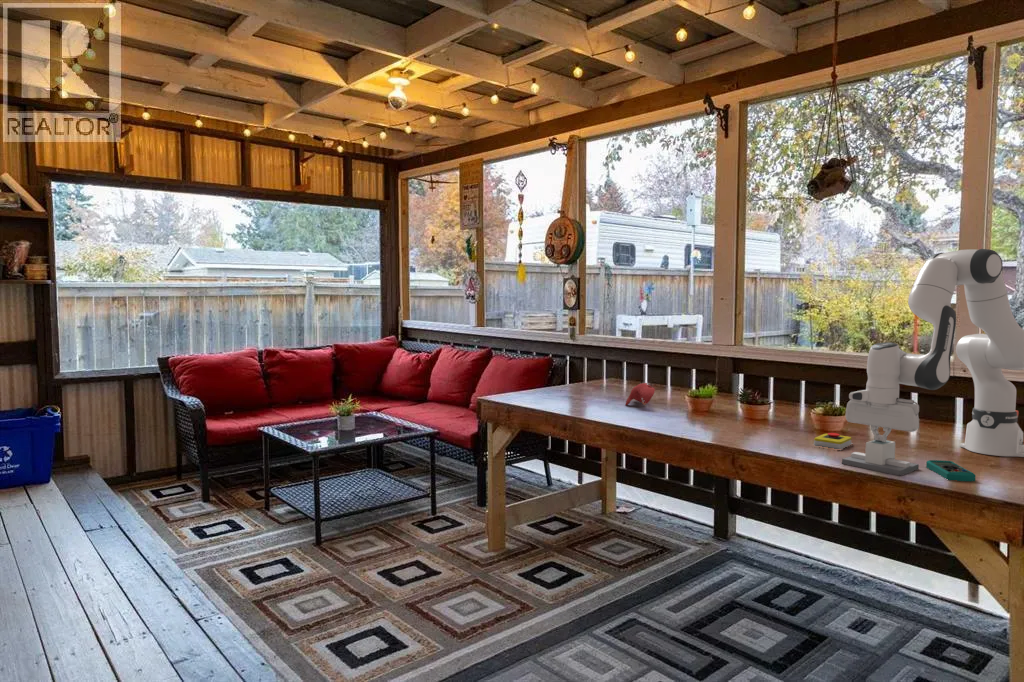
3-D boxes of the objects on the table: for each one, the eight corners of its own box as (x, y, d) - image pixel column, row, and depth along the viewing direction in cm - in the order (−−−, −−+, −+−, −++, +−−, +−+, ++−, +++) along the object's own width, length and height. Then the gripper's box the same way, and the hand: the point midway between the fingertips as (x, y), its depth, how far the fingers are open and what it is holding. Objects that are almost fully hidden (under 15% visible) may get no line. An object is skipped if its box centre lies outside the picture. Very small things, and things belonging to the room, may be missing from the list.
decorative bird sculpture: (641, 420, 298) (664, 396, 297) (626, 406, 297) (649, 382, 296) (630, 409, 326) (651, 387, 325) (616, 396, 325) (637, 374, 325)
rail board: (861, 457, 213) (861, 449, 213) (918, 469, 199) (918, 460, 199) (841, 463, 206) (842, 455, 205) (900, 475, 192) (900, 466, 192)
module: (877, 457, 207) (878, 438, 206) (894, 461, 203) (895, 441, 202) (865, 461, 202) (865, 441, 201) (882, 465, 198) (882, 444, 197)
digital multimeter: (948, 482, 187) (948, 472, 187) (925, 468, 201) (925, 458, 201) (976, 483, 186) (977, 473, 185) (951, 469, 200) (952, 460, 200)
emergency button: (854, 433, 232) (839, 439, 221) (853, 445, 232) (838, 452, 222) (826, 429, 238) (810, 435, 228) (826, 441, 239) (810, 448, 228)
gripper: (924, 399, 194) (922, 446, 195) (854, 391, 211) (852, 434, 212) (914, 401, 191) (912, 449, 192) (843, 393, 207) (842, 436, 208)
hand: (880, 441), depth 202 cm, fingers closed
